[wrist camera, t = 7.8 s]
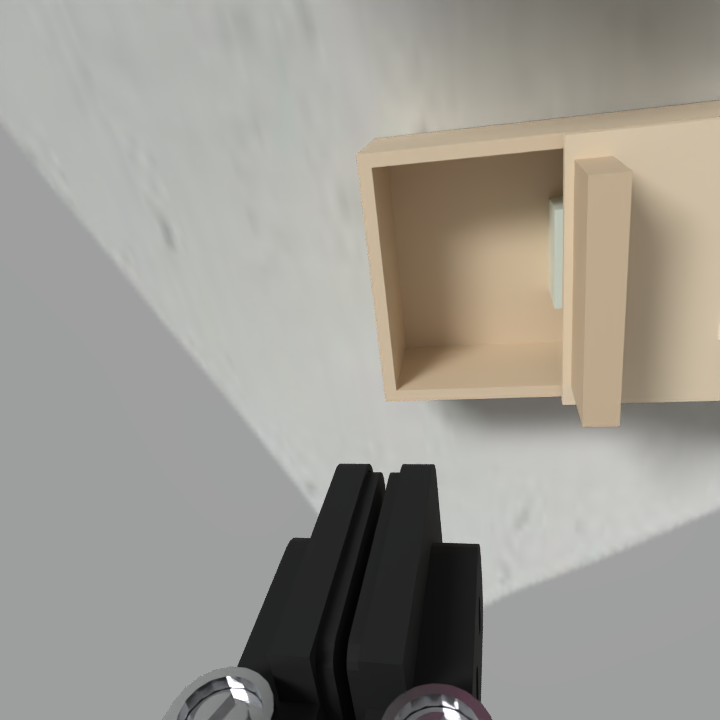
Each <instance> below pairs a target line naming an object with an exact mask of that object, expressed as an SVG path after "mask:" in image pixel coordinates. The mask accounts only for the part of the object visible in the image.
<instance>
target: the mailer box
mask: <svg viewBox="0 0 720 720" xmlns="http://www.w3.org/2000/svg"><path fill="white" fill-rule="evenodd" d="M717 117H720V100H718V101H709V102H700V103H691V104H682V105H673V106H664V107H655V108H646V109H637V110H628V111H619V112H610V113H601V114H592V115H583V116H574V117H565V118H556V119H547V120H538V121H529V122H520V123H511V124H502V125H493V126H484V127H475V128H466V129H457V130H448V131H439V132H430V133H421V134H412V135H403V136H394V137H385V138H376V139H374V140H373V141H371V142H370V143H369V144H368V145H367V146H366V147H364V148H363V149H362V150H361V151H360V152H359V153H357V154H356V158H357V167H358V175H359V183H360V192H361V200H362V208H363V217H364V225H365V234H366V242H367V250H368V259H369V267H370V275H371V284H372V292H373V300H374V309H375V317H376V326H377V334H378V342H379V351H380V359H381V367H382V376H383V384H384V392H385V401H419V400H453V399H487V398H521V397H555V396H562V308H559V309H554V306H553V302H552V299H551V296H550V292H549V213H548V197H557V196H563V141H564V134H566V133H576V132H585V131H594V130H604V129H613V128H623V127H632V126H641V125H651V124H660V123H670V122H679V121H689V120H698V119H707V118H717Z"/></svg>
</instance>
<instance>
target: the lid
mask: <svg viewBox="0 0 720 720" xmlns="http://www.w3.org/2000/svg"><path fill="white" fill-rule="evenodd" d="M561 400H562V404H563V405H576V406H577V410H578V413H579V417H580V420H581V424H582V427H615V426H620V411H621V403H654V402H691V401H720V117H717V118H707V119H698V120H689V121H679V122H670V123H660V124H651V125H641V126H632V127H623V128H613V129H604V130H594V131H585V132H576V133H566V134H564V141H563V268H562V396H561Z"/></svg>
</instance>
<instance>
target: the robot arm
mask: <svg viewBox="0 0 720 720" xmlns="http://www.w3.org/2000/svg"><path fill="white" fill-rule="evenodd" d="M482 638H483V593H482V570H481V554H480V545H479V544H461V543H442V533H441V522H440V510H439V499H438V488H437V477H436V469H435V465H434V464H403V465H402V467H401V471H400V473H390V475H389V479H388V483H387V487H386V491H385V483H384V477H383V474H382V473H381V472H373V469H372V467H371V465H370V464H339V465H338V466H337V468H336V471H335V473H334V476H333V479H332V481H331V484H330V487H329V490H328V492H327V495H326V498H325V500H324V503H323V506H322V508H321V511H320V514H319V516H318V519H317V522H316V524H315V527H314V530H313V532H312V536H311V538H293V539H292V540H290V542H289V544H288V546H287V547H286V550H285V552H284V555H283V557H282V560H281V562H280V564H279V567H278V569H277V572H276V574H275V577H274V579H273V582H272V584H271V586H270V589H269V591H268V594H267V596H266V598H265V601H264V604H263V606H262V608H261V610H260V613H259V615H258V618H257V620H256V623H255V625H254V628H253V630H252V632H251V635H250V637H249V640H248V642H247V645H246V647H245V650H244V652H243V654H242V657H241V659H240V661H239V664H238V667H227V668H221V669H216V670H213V671H211V672H209V673H207V674H205V675H203V676H200V677H199V678H197V679H196V680H195V681H193V682H192V683H191V684H190V685H188V686H187V687H186V688H185V689H184V690H183V691H182V692H181V693H180V695H179V696H178V697H177V698H176V699H175V701H174V702H173V703H172V705H171V707H170V708H169V710H168V711H167V713H166V714H165V716H164V717H163V719H162V720H492V719H491V716H490V714H489V713H488V712H487V710H486V709H485V708H484V706H483V705H482V703H481V675H482Z"/></svg>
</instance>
